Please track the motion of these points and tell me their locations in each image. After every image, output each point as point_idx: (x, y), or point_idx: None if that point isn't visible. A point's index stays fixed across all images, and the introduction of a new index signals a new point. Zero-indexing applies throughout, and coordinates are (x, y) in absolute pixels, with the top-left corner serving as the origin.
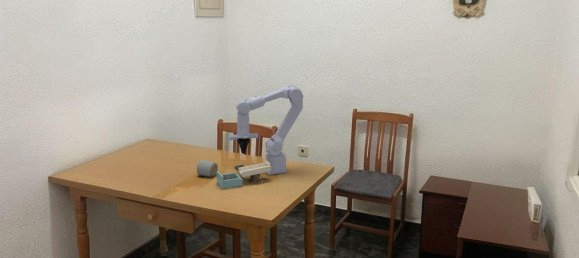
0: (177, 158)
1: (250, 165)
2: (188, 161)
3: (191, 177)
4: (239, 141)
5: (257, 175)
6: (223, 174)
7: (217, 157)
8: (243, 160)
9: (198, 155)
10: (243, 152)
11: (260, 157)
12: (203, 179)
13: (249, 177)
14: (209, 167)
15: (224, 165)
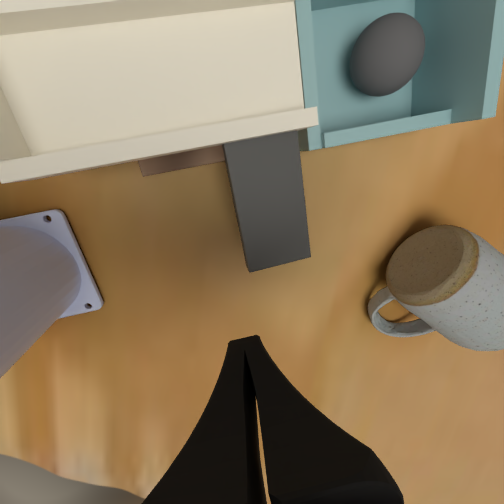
0: (459, 471)
1: (192, 144)
2: (435, 443)
3: None
4: (397, 488)
5: None
6: (414, 124)
7: None
8: None
9: None
10: (251, 344)
11: (117, 481)
12: (457, 215)
13: (207, 159)
14: (484, 244)
15: (308, 394)
